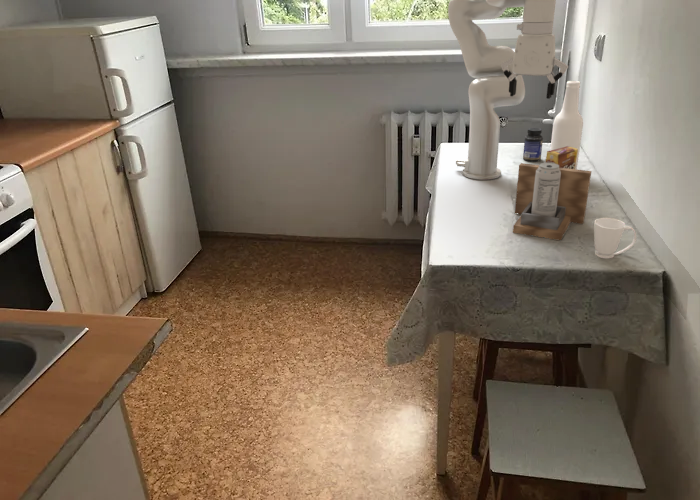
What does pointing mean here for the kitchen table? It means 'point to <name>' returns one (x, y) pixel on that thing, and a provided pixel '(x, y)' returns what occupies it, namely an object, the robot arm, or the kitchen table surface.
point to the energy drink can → (546, 189)
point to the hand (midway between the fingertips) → (530, 96)
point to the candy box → (563, 157)
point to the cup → (609, 237)
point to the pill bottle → (533, 145)
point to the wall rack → (568, 203)
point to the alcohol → (568, 121)
